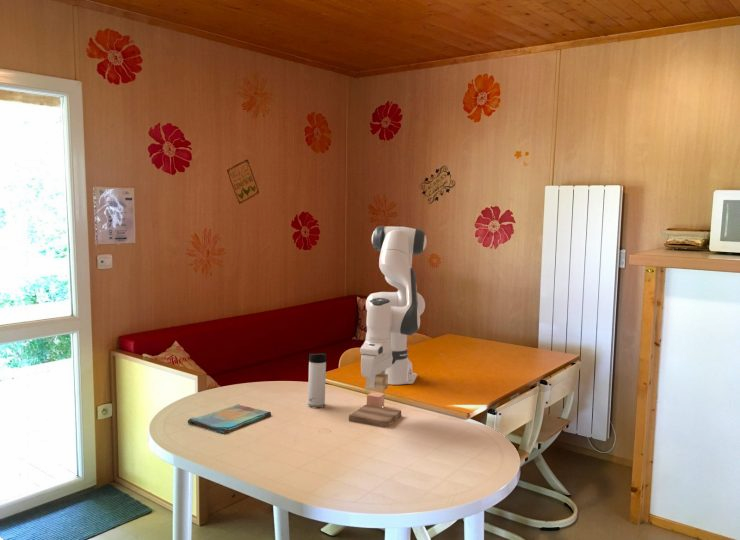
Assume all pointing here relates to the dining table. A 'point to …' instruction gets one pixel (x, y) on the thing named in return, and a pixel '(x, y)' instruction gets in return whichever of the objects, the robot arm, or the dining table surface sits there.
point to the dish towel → (229, 418)
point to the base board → (375, 415)
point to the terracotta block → (375, 399)
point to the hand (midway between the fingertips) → (376, 384)
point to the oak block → (378, 383)
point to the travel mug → (317, 380)
